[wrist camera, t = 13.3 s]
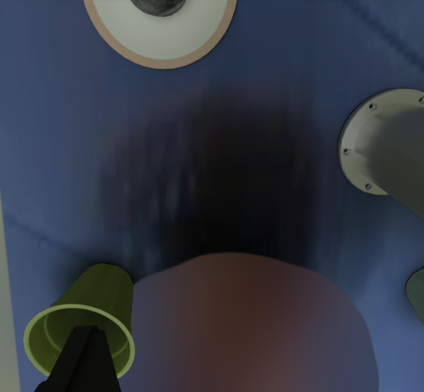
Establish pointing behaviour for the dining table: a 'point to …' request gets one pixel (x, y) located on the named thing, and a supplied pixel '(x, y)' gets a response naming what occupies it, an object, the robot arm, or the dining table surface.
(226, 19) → the dish
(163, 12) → the salt shaker
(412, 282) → the disposable coffee cup
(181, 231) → the dining table surface
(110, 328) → the plant pot
